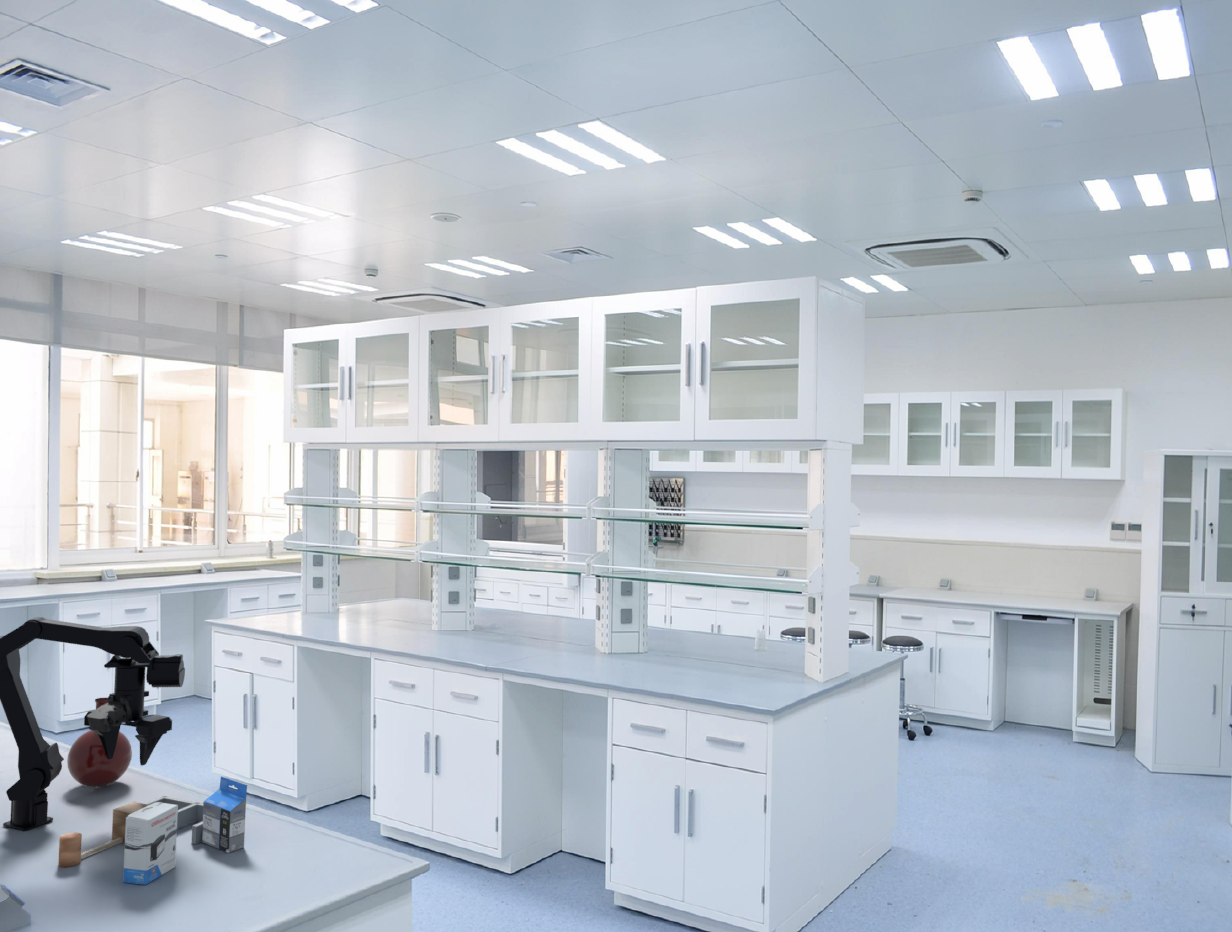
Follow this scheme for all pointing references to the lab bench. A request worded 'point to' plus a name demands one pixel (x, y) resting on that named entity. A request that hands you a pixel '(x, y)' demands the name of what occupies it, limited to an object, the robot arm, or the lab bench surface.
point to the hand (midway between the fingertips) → (126, 761)
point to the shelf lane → (186, 815)
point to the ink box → (150, 843)
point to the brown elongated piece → (72, 845)
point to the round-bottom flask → (98, 758)
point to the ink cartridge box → (225, 817)
